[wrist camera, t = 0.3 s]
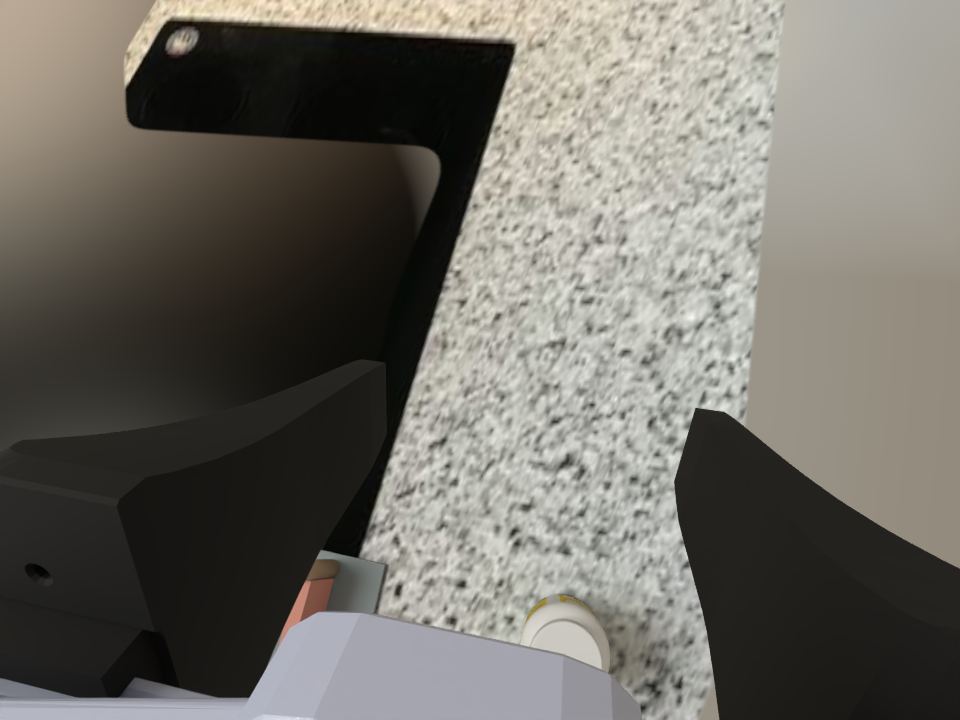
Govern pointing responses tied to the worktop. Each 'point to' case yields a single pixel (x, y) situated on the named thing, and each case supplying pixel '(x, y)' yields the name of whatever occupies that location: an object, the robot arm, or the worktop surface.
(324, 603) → the gate panel
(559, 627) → the supplement bottle
